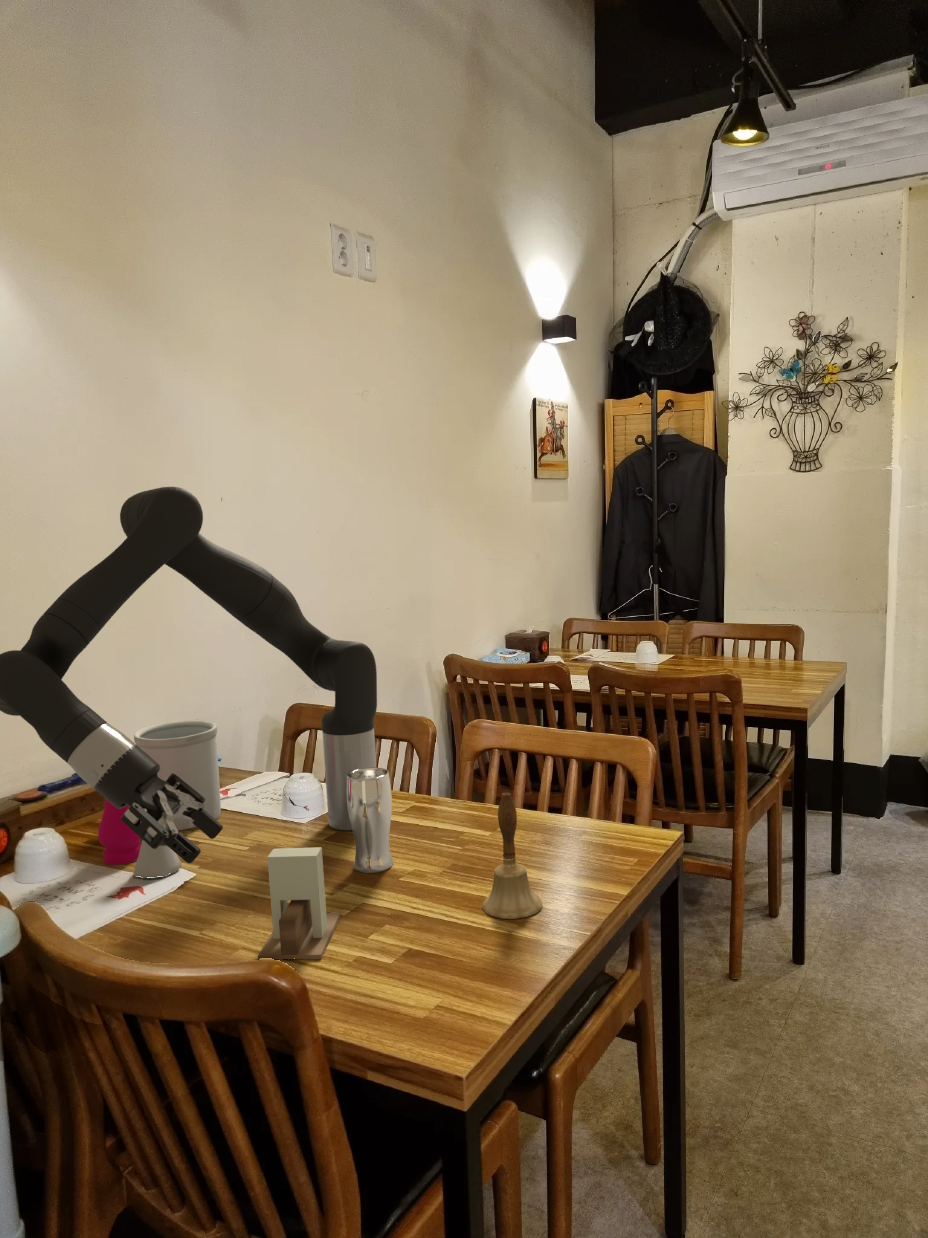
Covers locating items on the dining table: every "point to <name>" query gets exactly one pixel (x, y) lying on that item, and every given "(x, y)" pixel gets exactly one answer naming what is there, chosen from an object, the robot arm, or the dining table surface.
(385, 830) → the beer glass
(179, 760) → the utensil holder
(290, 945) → the walnut rail
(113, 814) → the pepper mill
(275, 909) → the pale slotted block
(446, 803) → the dining table surface
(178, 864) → the flask
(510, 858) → the hand bell
